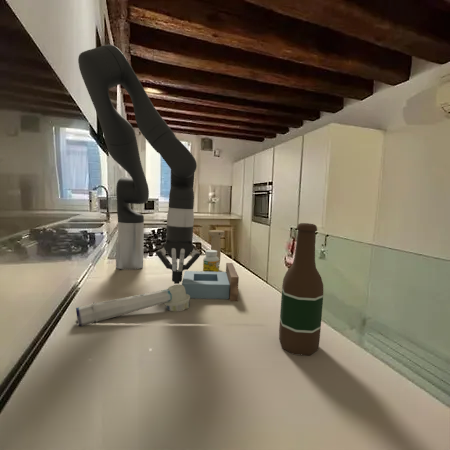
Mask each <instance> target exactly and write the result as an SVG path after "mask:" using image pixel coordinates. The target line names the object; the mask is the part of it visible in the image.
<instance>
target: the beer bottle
mask: <svg viewBox="0 0 450 450" xmlns="http://www.w3.org/2000/svg"><path fill="white" fill-rule="evenodd" d="M296 230H297V234H296V235H297V236H296V242H295V243H296V244H295V251H294V258H293V261H292V265H291V266H290V267H289V268H288V269H287V271H286V272H285V274H284V277H283V280H282V284H281V285H282V286H281V296H280V297H281V299H280V312H279V313H280V314H279V316H280V317H279V328H278V332H279V333H278V340H279V343H280V346H281V349H283V350H285V351H287V352H289V353H290V352H291V354H292V353H293V354H292V355H294V354H300V355H299V356H311V355H313V354H314V353H316V352H317V351H318V350H319V349H320V348H319V347H320V341H321V327H322V315H323V305H324V304H323V303H324V283H323V279H322V277H321V274H320V272H319V271H318V269H317V267H316V232H317V231H318V227H317V225H316V224H314V223H307V222H306V223H304V222H301V223H297V226H296ZM301 354H302V355H301Z"/></svg>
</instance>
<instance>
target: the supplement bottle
mask: <svg viewBox="0 0 450 450" xmlns="http://www.w3.org/2000/svg"><path fill="white" fill-rule="evenodd" d="M204 255H205V256H204V257H203V259H202V261H203V262H202V271H209V272H220V270H219V269H220V264H219V258H218V257H217V251H216V250H211V249H206V250H205V254H204Z"/></svg>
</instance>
